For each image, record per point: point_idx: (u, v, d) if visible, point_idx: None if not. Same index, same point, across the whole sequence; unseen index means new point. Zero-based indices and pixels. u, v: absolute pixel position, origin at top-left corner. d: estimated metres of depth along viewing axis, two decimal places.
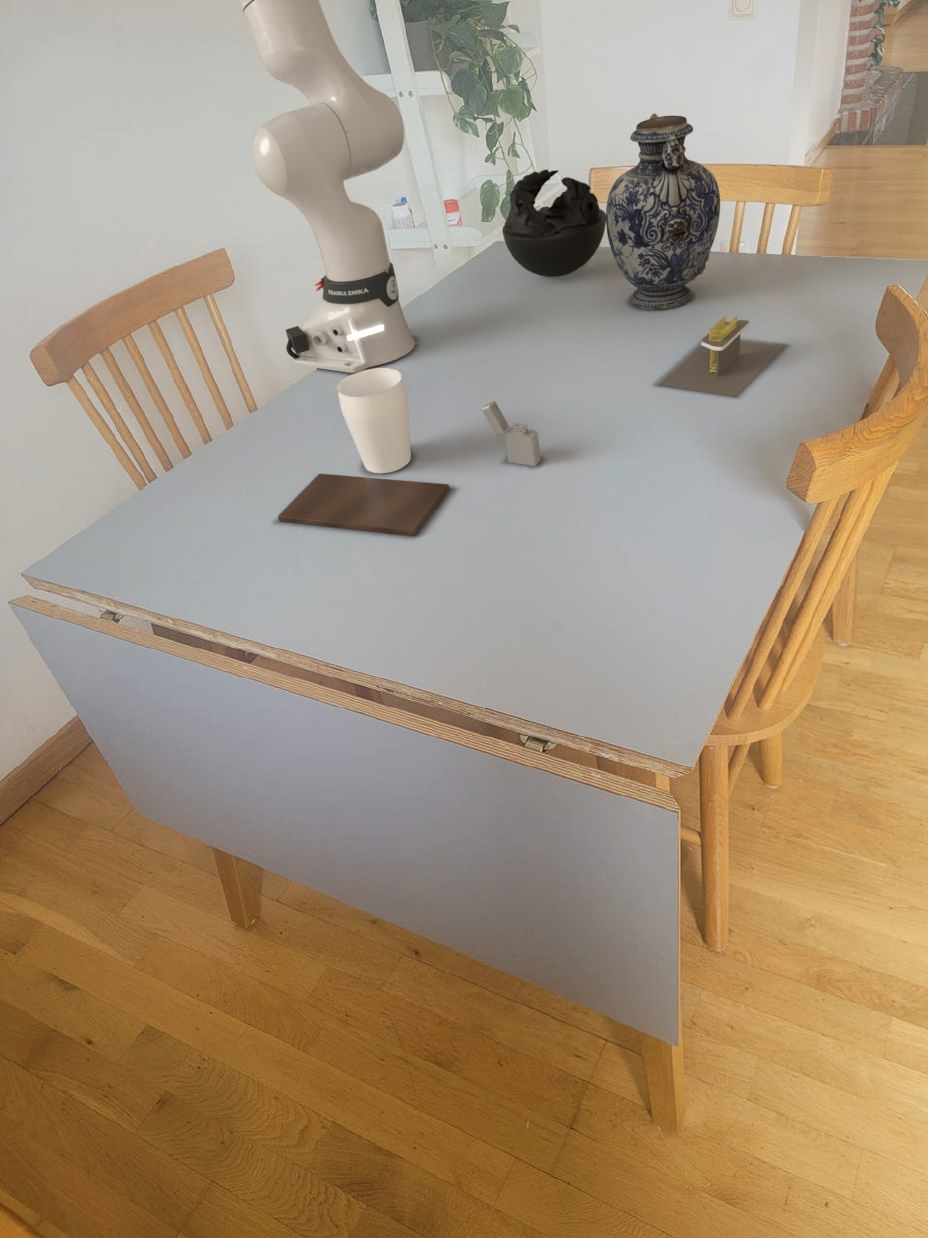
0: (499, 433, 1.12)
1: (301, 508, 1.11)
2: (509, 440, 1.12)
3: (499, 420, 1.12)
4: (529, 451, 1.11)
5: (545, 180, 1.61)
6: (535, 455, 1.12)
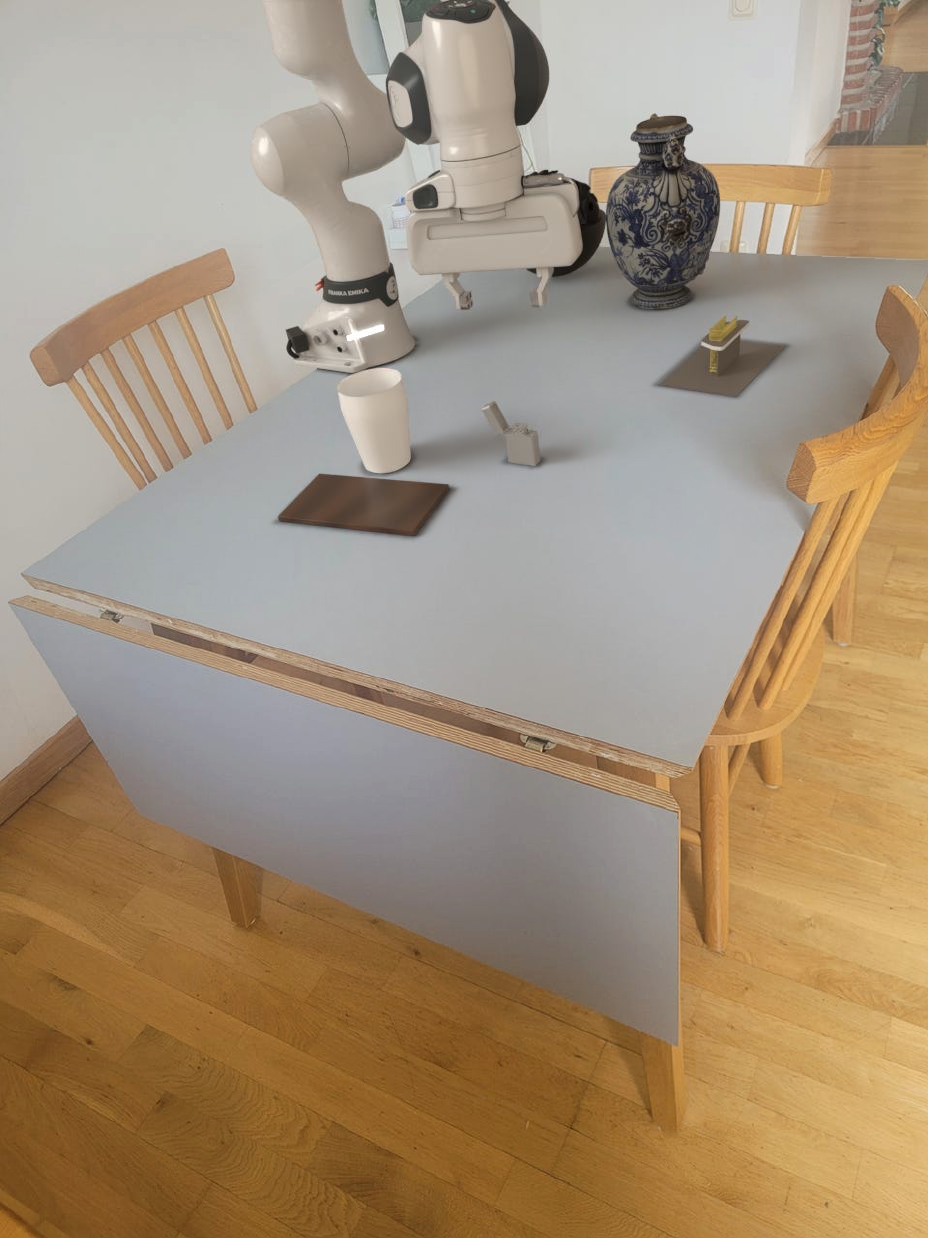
0: (499, 433, 1.12)
1: (301, 508, 1.11)
2: (509, 440, 1.12)
3: (499, 420, 1.12)
4: (529, 451, 1.11)
5: None
6: (535, 455, 1.12)
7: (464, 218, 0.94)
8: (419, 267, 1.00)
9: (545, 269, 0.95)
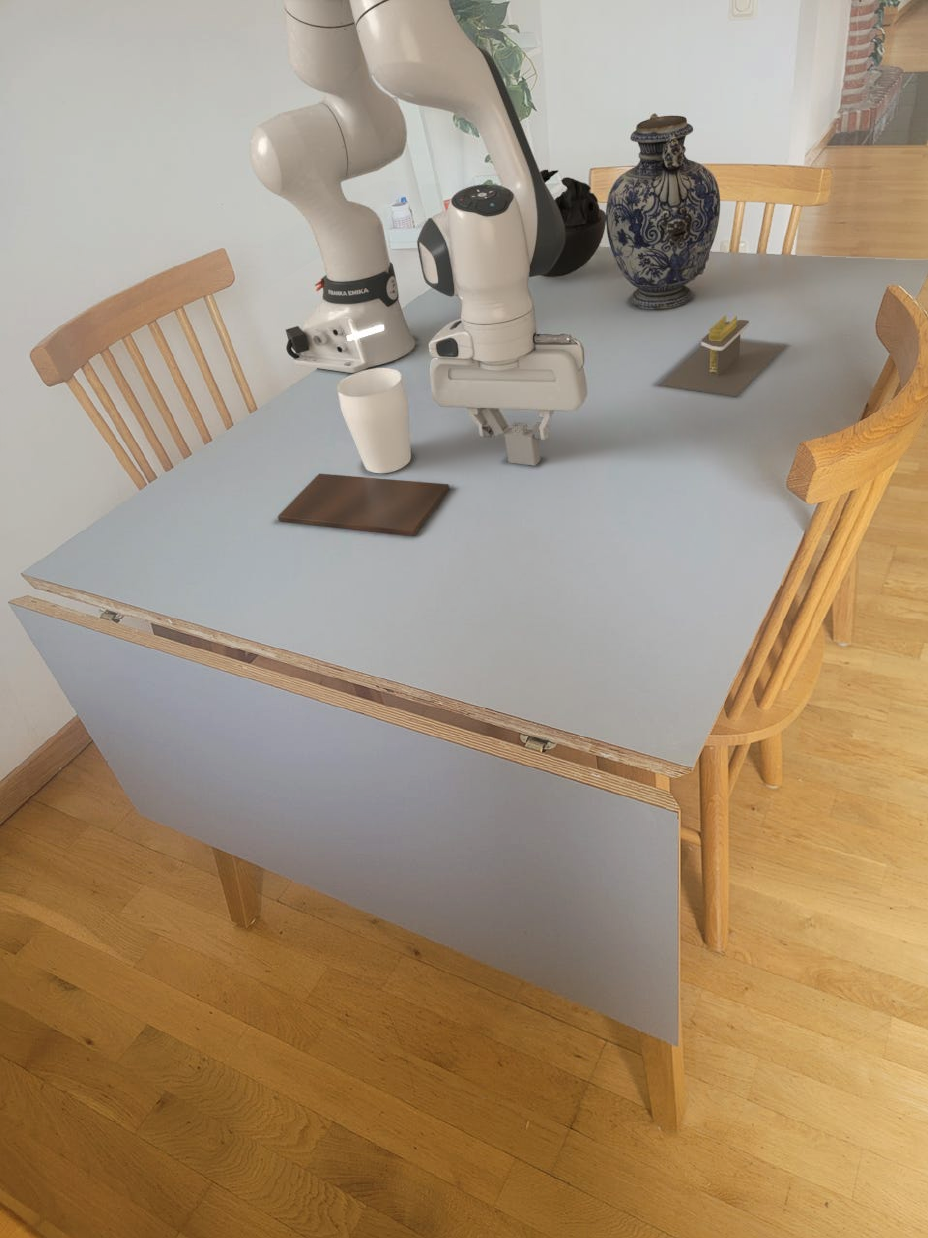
0: (498, 433, 1.12)
1: (301, 508, 1.11)
2: (508, 440, 1.12)
3: (498, 420, 1.12)
4: (529, 451, 1.11)
5: (545, 180, 1.61)
6: (535, 454, 1.11)
7: (481, 366, 1.04)
8: (440, 400, 1.11)
9: (546, 411, 1.07)
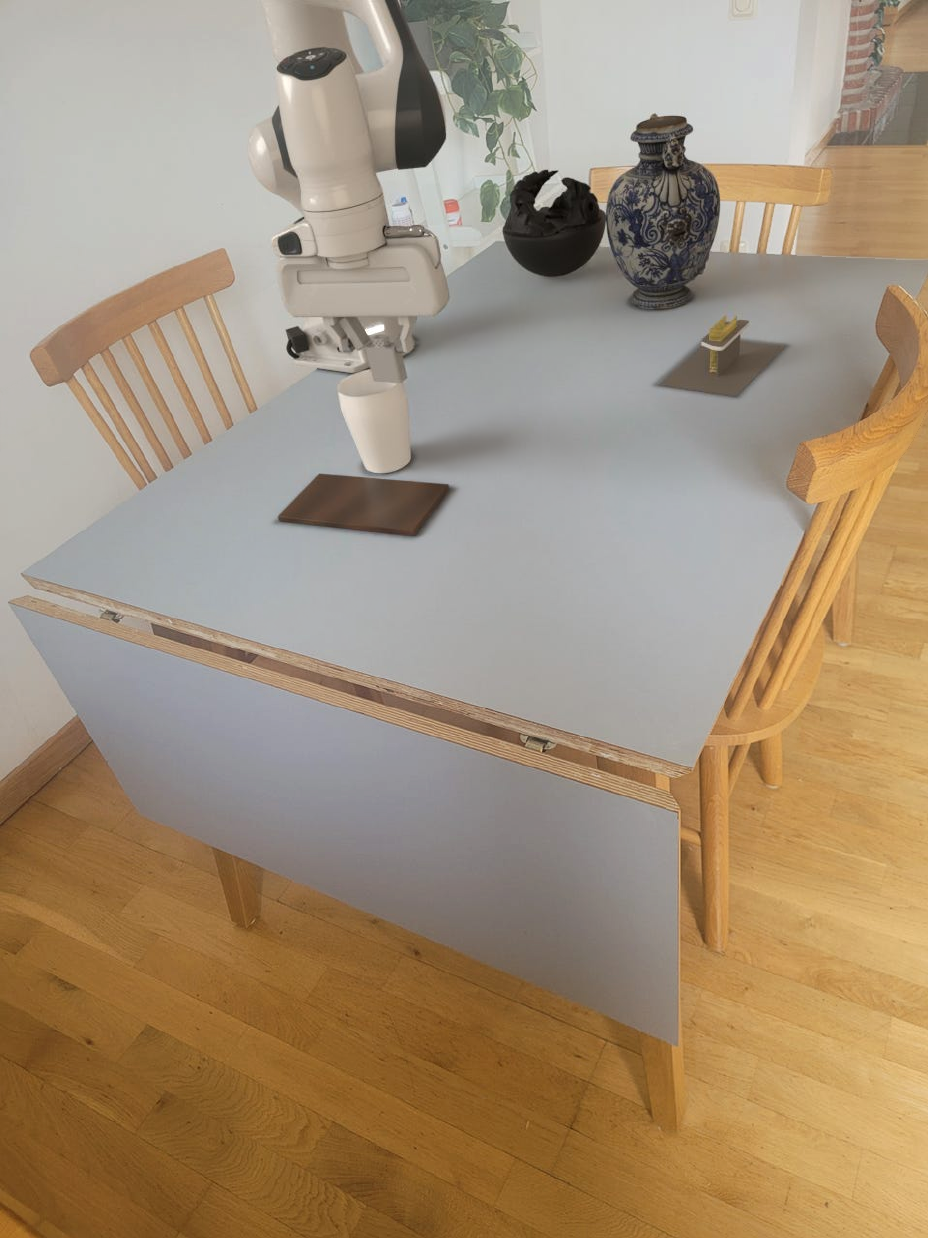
0: (359, 347, 1.01)
1: (301, 508, 1.11)
2: (370, 355, 1.00)
3: (359, 333, 1.01)
4: (392, 366, 1.00)
5: (545, 180, 1.61)
6: (399, 370, 1.00)
7: (329, 265, 0.93)
8: (292, 310, 0.99)
9: (405, 318, 0.95)
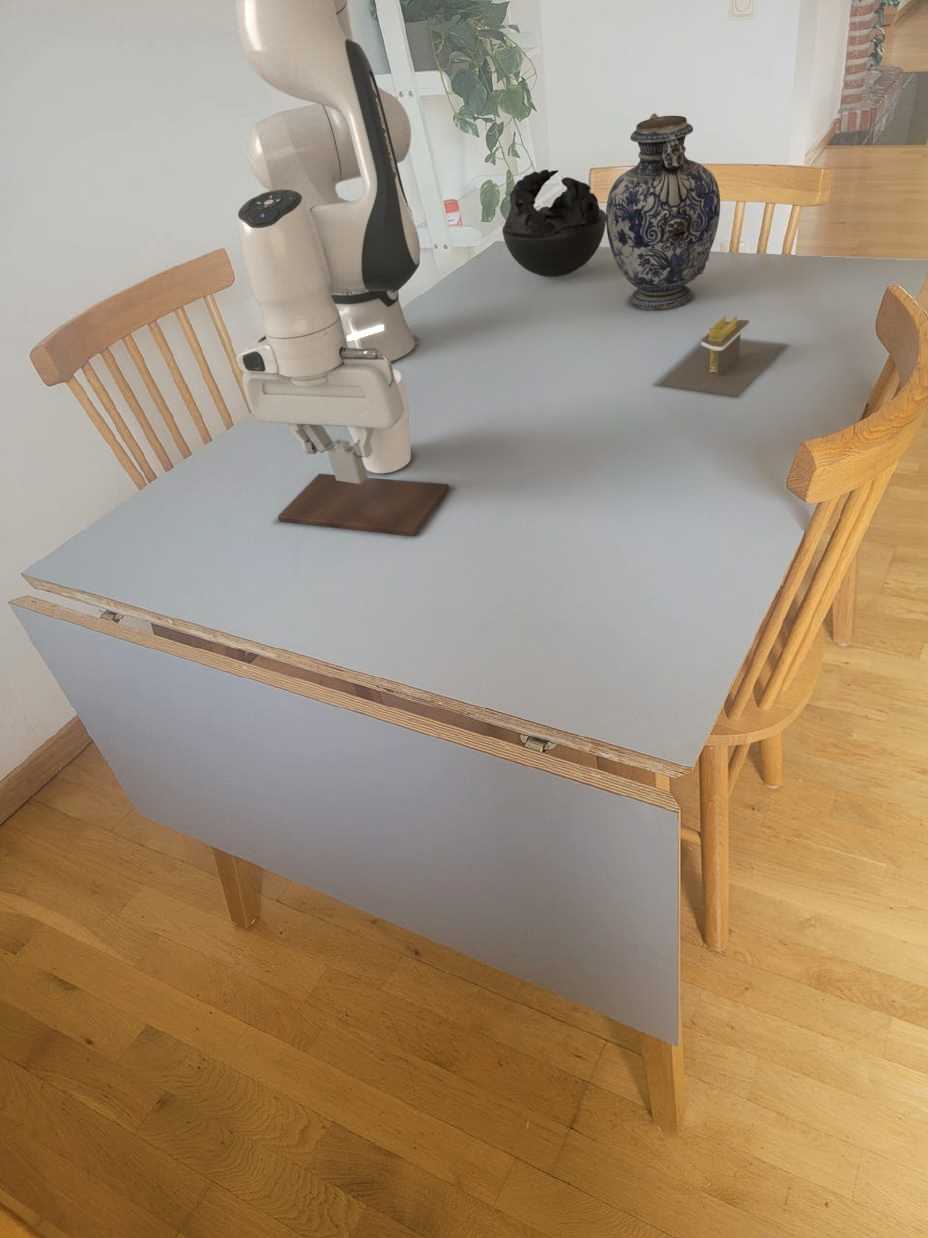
0: (322, 450, 1.07)
1: (301, 508, 1.11)
2: (332, 457, 1.07)
3: (322, 437, 1.07)
4: (352, 469, 1.06)
5: (545, 180, 1.61)
6: (359, 472, 1.07)
7: (291, 381, 1.00)
8: (259, 416, 1.06)
9: (363, 428, 1.02)
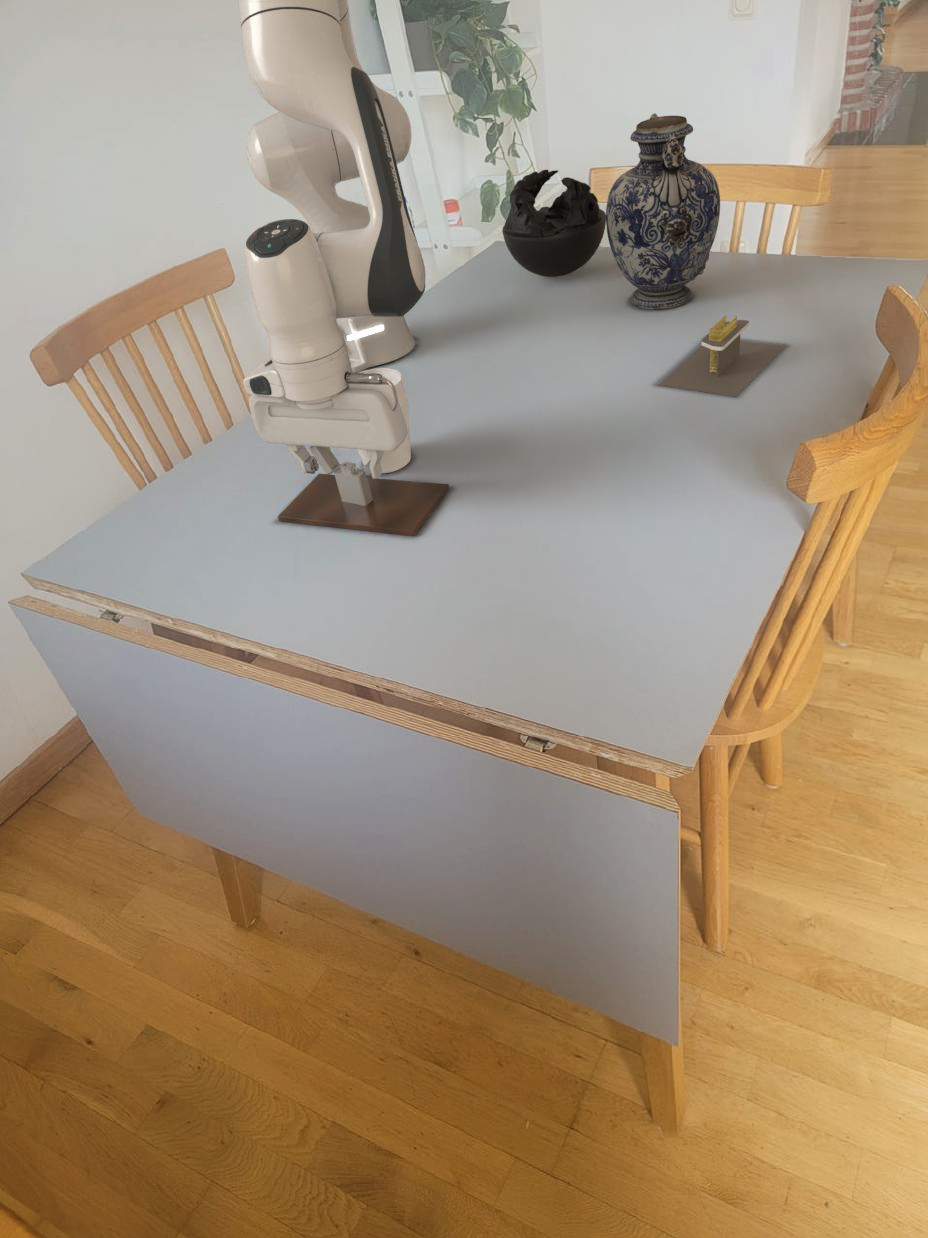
0: (328, 472, 1.09)
1: (301, 508, 1.11)
2: (338, 479, 1.09)
3: (329, 459, 1.09)
4: (358, 491, 1.08)
5: (545, 180, 1.61)
6: (365, 495, 1.09)
7: (297, 404, 1.01)
8: (265, 437, 1.08)
9: (373, 450, 1.03)
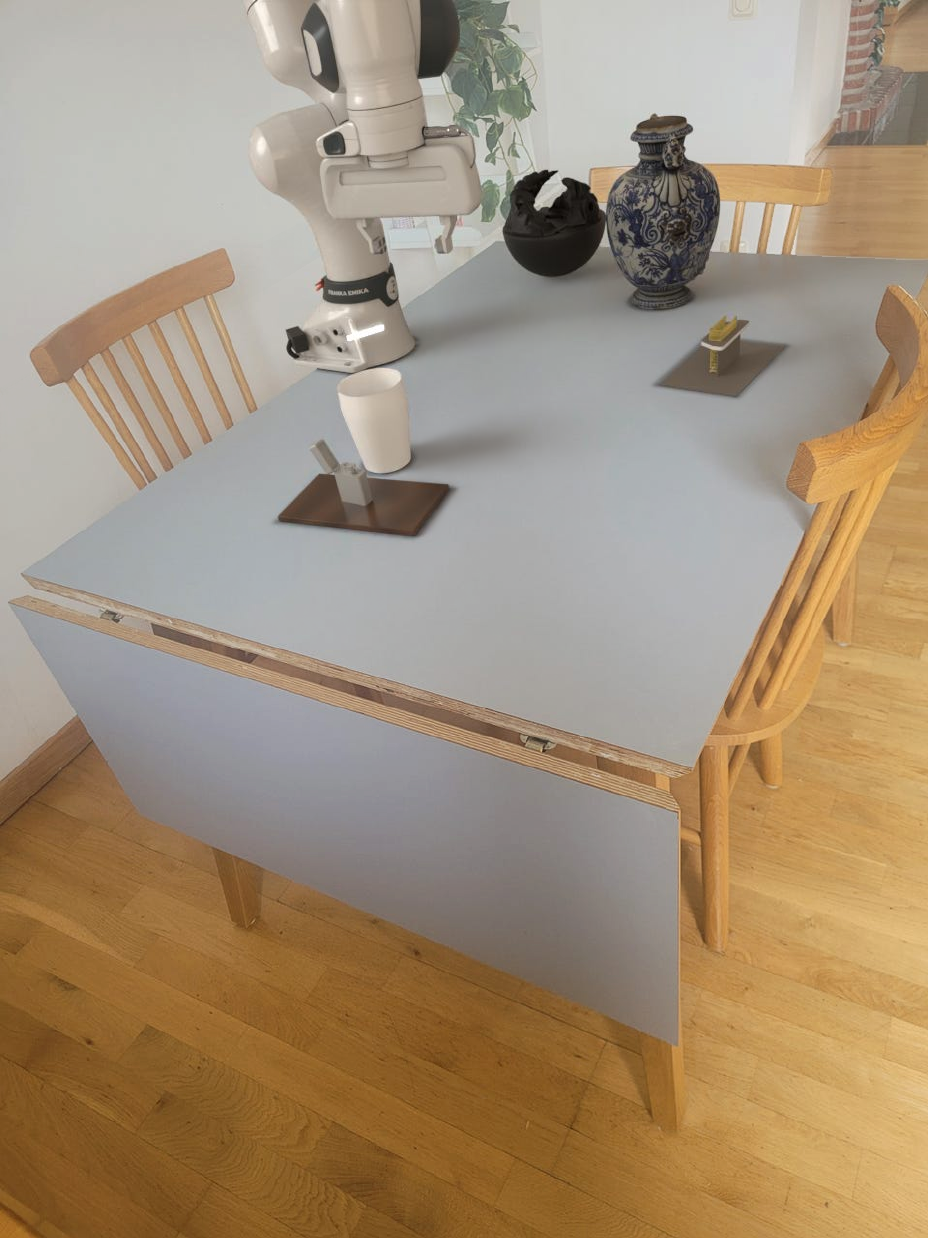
0: (328, 472, 1.09)
1: (301, 508, 1.11)
2: (338, 479, 1.09)
3: (329, 459, 1.09)
4: (358, 491, 1.08)
5: (545, 180, 1.61)
6: (365, 495, 1.09)
7: (371, 165, 1.00)
8: (334, 211, 1.06)
9: (447, 217, 1.01)
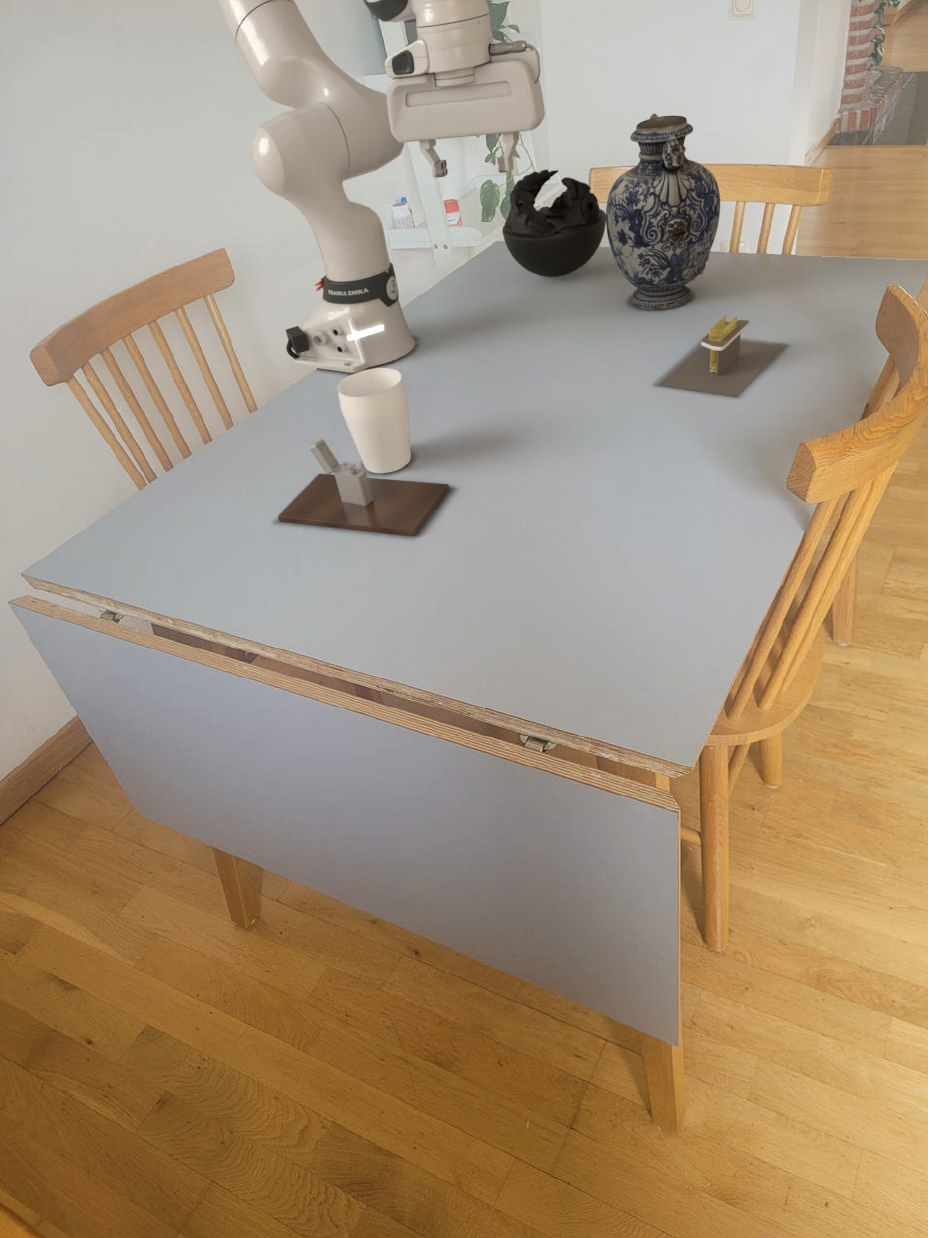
0: (328, 472, 1.09)
1: (301, 508, 1.11)
2: (338, 479, 1.09)
3: (329, 459, 1.09)
4: (358, 491, 1.08)
5: (545, 180, 1.61)
6: (365, 495, 1.09)
7: (437, 84, 1.04)
8: (398, 134, 1.10)
9: (510, 134, 1.05)
